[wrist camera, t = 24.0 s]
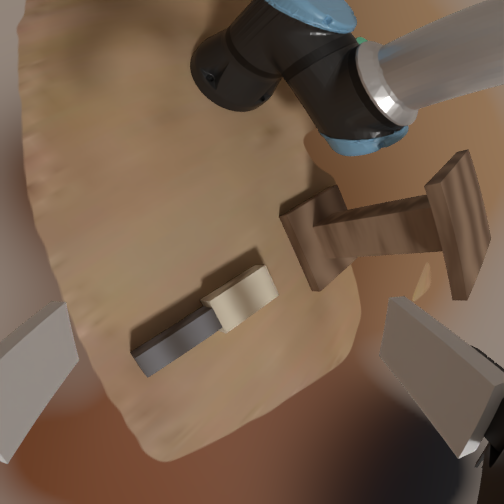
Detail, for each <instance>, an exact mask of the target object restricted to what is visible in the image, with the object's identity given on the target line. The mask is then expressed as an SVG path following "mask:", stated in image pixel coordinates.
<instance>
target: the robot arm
mask: <svg viewBox="0 0 504 504" xmlns="http://www.w3.org/2000/svg"><path fill="white" fill-rule="evenodd" d="M356 25H357V20H356V17H355V16H354V13H353V11H352V9H351V8H350V6H348V4H347V3H346V2H345V1H344V0H253V1H252V2H251V3H250V4H249V5H248V6H247V7H246V8H245V9H244V10H243V12H242V13H241V14H240V15H239V16H238V17H237V18H236V19H235V20H234V22H233V23H232V24H231V25H230V26H229V27H228V28H226V29H225V30H223V31H221V32H219V33H217V34H215V35H213V36H211V37H209V38H208V39H206V40H205V41H204V42H202V43H201V44H200V46H199V47H198V48H197V50H196V51H195V52H194V54H193V56H192V59H191V73H192V77H193V79H194V81H195V83H196V85H197V87H198V88H199V89H200V91H201V92H202V93H203V94H204V95H205V96H206V97H207V98H208V99H210V100H211V101H212V102H214V103H215V104H217V105H219V106H221V107H223V108H226V109H229V110H232V111H239V112H245V111H251V110H254V109H256V108H258V107H259V106H261V105H262V104H263V103H265V102H266V101H267V100H268V99H269V98H270V97H271V96H272V94H273V92H274V90H275V89H276V87H277V85H278V84H279V82H280V80H281V78H282V77H283V78H284V79H285V80H286V82H287V83H288V85H289V86H290V87H291V89H292V90H293V92H294V93H295V95H296V96H297V98H298V99H299V101H300V102H301V104H302V105H303V107H304V108H305V110H306V111H307V113H308V114H309V116H310V118H311V119H312V121H313V122H314V124H315V125H316V127H317V129H318V131H319V133H320V134H321V135H322V136H323V137H324V138H325V140H326V141H327V142H328V144H329V145H330V147H331V148H332V149H333V150H334V151H335V152H337V153H338V154H341V155H344V156H358V155H365V154H369V153H373V152H376V151H378V150H379V149H380V148H383V147H388V146H390V145H392V144H394V143H396V142H398V141H399V140H401V139H402V138H403V137H404V136H405V135H406V134H407V132H408V125H410V124H412V123H413V122H414V121H415V119H416V116H417V113H418V109H420V108H422V107H426V106H429V105H432V104H435V103H439V102H442V101H445V100H448V99H452V98H455V97H458V96H462V95H465V94H469V93H473V92H476V91H480V90H483V89H487V88H491V87H495V86H498V85H503V84H504V0H487V1H484V2H482V3H479V4H476V5H473V6H471V7H468V8H465V9H463V10H460V11H458V12H455V13H453V14H450V15H448V16H446V17H443V18H441V19H439V20H436V21H434V22H432V23H429V24H427V25H425V26H423V27H421V28H419V29H416V30H414V31H412V32H410V33H408V34H406V35H404V36H402V37H400V38H398V39H396V40H394V41H392V42H390V43H388V44H386V45H381V44H379V43H376V42H373V41H366V42H363V43H361V44H360V45H359V43H358V42H357V40H356V39H355V38H354V36H353V35H352V34H351V32H352V31H354V28H355V27H356ZM379 356H380V358H381V359H382V360H383V361H384V363H386V365H387V366H388V368H389V369H390V370H391V371H392V372H393V374H394V375H395V376H396V378H397V379H398V380H399V382H400V383H401V384H402V385H403V387H404V388H405V389H406V390H407V392H408V393H409V394H410V396H411V397H412V398H413V399H414V401H415V402H416V403H417V405H418V406H419V407H420V409H421V410H422V411H423V412H424V414H425V415H426V416H427V418H428V419H429V420H430V422H431V423H432V424H433V425H434V427H435V428H436V429H437V431H438V432H439V433H440V435H441V436H442V437H443V439H444V440H445V441H446V442H447V444H448V445H449V447H450V448H451V449H452V451H453V452H454V454H455V455H456V456H457V458H461V457H463V456H465V455H467V454H469V453H472V452H474V451H476V449H477V448H478V446H479V444H480V442H481V441H482V439H483V437H485V438H486V439H487V440H488V441H489V443H488V444H487V446H486V448H485V450H484V451H483V453H482V454H481V456H480V457H479V459H478V461H477V462H476V465H475V467H478V466H479V464H480V463H481V461H483V460H484V461H483V466H482V468H483V469H482V477H481V483H480V490H479V495H478V501H477V504H504V369H503V368H502V367H501V366H499V365H498V364H497V363H494V361H493V360H492V359H491V358H489V357H488V358H487V355H486V354H484V353H483V352H482V351H480V350H479V349H478V348H475V347H473V346H471V345H469V344H467V343H466V342H465V341H464V340H462V339H461V338H460V337H458V336H457V335H456V334H455V333H453V332H452V331H451V330H449V329H448V328H447V327H445V326H444V325H443V324H441V323H440V322H439V321H437V320H436V319H435V318H433V317H432V316H430V315H429V314H428V313H426V312H425V311H424V310H423V309H421V308H420V307H418V306H417V305H416V304H414V303H413V302H412V301H410V300H409V299H407V298H406V297H405V296H403V297H391V298H389V302H388V310H387V315H386V321H385V328H384V333H383V339H382V344H381V349H380V354H379ZM78 361H79V357H78V354H77V350H76V346H75V342H74V338H73V333H72V329H71V325H70V320H69V315H68V310H67V305H66V302H56V301H51V302H50V303H48V304H47V305H46V306H45V307H43V308H42V309H41V310H39V311H38V312H37V313H36V314H34V315H33V316H32V317H31V318H29V319H28V320H27V321H25V322H24V323H23V324H22V325H20V326H19V327H18V328H17V329H15V330H14V331H13V332H12V333H11V334H9V335H8V336H7V337H6V338H5V339H3V340H2V341H1V342H0V461H1V462H4V463H6V464H8V463H9V461H10V460H11V458H12V456H13V455H14V453H15V451H16V450H17V448H18V447H19V445H20V444H21V442H22V441H23V439H24V438H25V436H26V435H27V433H28V432H29V430H30V428H31V427H32V425H33V424H34V423H35V421H36V420H37V418H38V417H39V415H40V414H41V412H42V411H43V409H44V408H45V407H46V405H47V404H48V402H49V401H50V399H51V398H52V397H53V395H54V394H55V392H56V391H57V390H58V388H59V387H60V385H61V384H62V383H63V381H64V380H65V379H66V377H67V376H68V374H69V373H70V372H71V370H72V369H73V368H74V366H75V365H76V364H77V362H78Z"/></svg>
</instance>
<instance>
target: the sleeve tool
mask: <svg viewBox="0 0 504 504" xmlns="http://www.w3.org/2000/svg"><path fill="white" fill-rule="evenodd" d="M278 295H279V294H278V291H277V289H276V287H275V285H274V283H273V280H272V278H271V276H270V274H269V272H268V269H267V267H266V265H254V266H253V267H251V268H249V269H248V270H246V271H245V272H243V273H242V274H240V275H238V276H237V277H235V278H234V279H232V280H231V281H229V282H227V283H226V284H224V285H223V286H221V287H220V288H218V289H216V290H215V291H213V292H212V293H210V294H208V295H207V296H205V297H204V298H202V299H201V300H200V301H201V302H202V304H203V307H201V308H200V309H198V310H196V311H195V312H193V313H192V314H190V315H189V316H187V317H185V318H184V319H182V320H181V321H179V322H178V323H176V324H174V325H173V326H171V327H170V328H168V329H167V330H165V331H163V332H162V333H160V334H159V335H157V336H156V337H154V338H152V339H151V340H149V341H148V342H146V343H144V344H143V345H141V346H140V347H138V348H137V349H135V350H133V351H132V352H130V353H131V354H132V356H133V358H134V359H135V361H136V362H137V364H138V365H139V367H140V368H141V370H142V371H143V372H144V374H145V375H146V376H147V377H150V376H151V375H153V374H154V373H156V372H157V371H159V370H160V369H162V368H163V367H165V366H166V365H168V364H169V363H171V362H172V361H174V360H175V359H177V358H178V357H180V356H181V355H183V354H184V353H186V352H187V351H189V350H190V349H192V348H193V347H195V346H196V345H198V344H199V343H201V342H202V341H204V340H205V339H207V338H208V337H210V336H211V335H212V334H214V333H215V332H217V331H221V332H223V333H227V332H229V331H230V330H232V329H233V328H235V327H236V326H237V325H239V324H240V323H242V322H243V321H244V320H246V319H247V318H248V317H250V316H251V315H253V314H254V313H255V312H257V311H258V310H259V309H261V308H262V307H264V306H265V305H266V304H268V303H269V302H270V301H272V300H273V299H274V298H276V297H277V296H278Z"/></svg>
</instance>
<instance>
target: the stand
mask: <svg viewBox="0 0 504 504" xmlns="http://www.w3.org/2000/svg"><path fill="white" fill-rule="evenodd" d="M424 187H425V190H426V194H427V195H422V196H416V197H411V198H406V199H401V200H395V201H391V202H385V203H380V204H375V205H370V206H365V207H360V208H355V209H350V210H347V207H346V205H345V203H344V200H343V198H342V195H341V193H340V190H339V188H338V186H337V185H334V186H331V187H329V188H327V189H325V190H323V191H322V192H320V193H318V194H317V195H315V196H313V197H312V198H310V199H308V200H306V201H305V202H303V203H301V204H300V205H298V206H296V207H295V208H293V209H291V210H290V211H288V212H286V213H285V214H283V215H281V216H279V218H280V220H281V222H282V224H283V227H284V229H285V231H286V233H287V235H288V238H289V240H290V242H291V244H292V247H293V249H294V251H295V253H296V256H297V258H298V260H299V262H300V265H301V267H302V269H303V271H304V274H305V276H306V278H307V281H308V283H309V285H310V287H311V290H312V291H321V290H322V289H323V288H325V287H326V286H327V285H328V284H329V283H330V282H331V281H332V280H334V279H335V278H336V277H337V276H338V275H339V274H340V273H341V272H342V271H343V270H345V269H346V268H347V267H348V266H349V265H350V264H351V263H352V262H353V261H354V260H355V259H356V258H357V257H364V256H380V255H394V254H409V253H424V252H438V251H443V254H444V259H445V263H446V268H447V273H448V278H449V282H450V288H451V294H452V299H453V300H468V297H469V295H470V293H471V291H472V288H473V286H474V283H475V281H476V278H477V276H478V273H479V271H480V268H481V265H482V263H483V260H484V257H485V255H486V252H487V249H488V246H489V243H490V240H491V236H490V230H489V225H488V221H487V216H486V211H485V207H484V202H483V199H482V194H481V191H480V186H479V183H478V180H477V175H476V172H475V169H474V165H473V162H472V159H471V156H470V152H469V150H464V151H459V152H457V153H456V154H455V155H454V156H453V157H452V158H451V159H450V160H449V161H448V162H447V163H446V164H445V165H444V166H443V167H442V168H441V169H440V170H439V172H438V173H436V174H435V176H434V177H433V178H432V179H431V180H430V181H429V182H428V183H427V184H426V185H425V186H424Z"/></svg>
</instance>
